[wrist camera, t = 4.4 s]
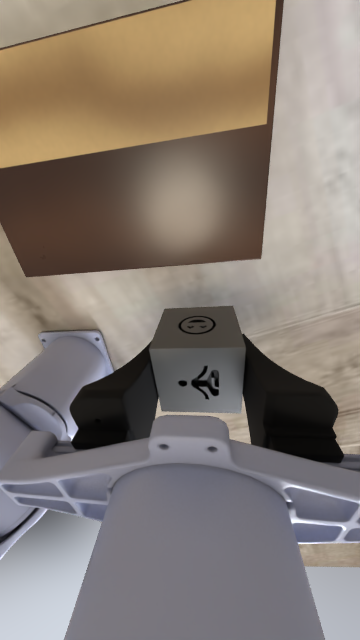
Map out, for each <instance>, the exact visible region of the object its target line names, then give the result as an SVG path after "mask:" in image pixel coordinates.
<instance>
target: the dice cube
mask: <svg viewBox="0 0 360 640" xmlns="http://www.w3.org/2000/svg"><path fill="white" fill-rule="evenodd" d="M149 352H150V356H151V361H152V366H153V371H154V376H155V381H156V386H157V390H158V395H159V400H160V405H161V410H162V411H171V412H209V413H241V408H242V394H243V380H244V366H245V352H246V346H245V343H244V340H243V337H242V333H241V330H240V327H239V324H238V320H237V317H236V314H235V311H234V308H233V306H218V307H195V308H172V309H164V312H163V314H162V317H161V320H160V322H159V325H158V327H157V330H156V332H155V335H154V337H153V340H152V342H151V345H150V348H149Z"/></svg>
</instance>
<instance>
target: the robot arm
mask: <svg viewBox="0 0 360 640" xmlns="http://www.w3.org/2000/svg"><path fill="white" fill-rule="evenodd" d="M38 337H39V339H40V341H41V343H42V345H43V347H44V350H43V351H42V352H41V353H40V354H39V355H38V356H36V357H35V358H34V359H33V360H32V361H31V362H30V363H28V364H27V365H26V366H25V367H24V368H23V369H22V370H20V371H19V372H18V373H17V374H16V375H15V376H14V377H12V378H11V379H10V380H9V381H8V382H7V383H6V384H4V385H3V386H2V387H1V388H0V560H1V558H2V557H3V556H4V555H5V553H6V552H7V551H8V550H9V549H10V548H11V546H12V545H13V544H14V543H15V542H16V541H17V540H18V539H19V538H20V537H21V536H22V535H23V534H24V533H25V532H26V531H27V530H28V529H29V528H31V527H32V526H33V525H34V524H35V523H36V522H37V521H38V520H39V519H40V518H41V517H42V516H43V515H44V513H45V512H46V511H47V510H48V509H49V510H53V511H58V512H63V513H67V514H71V515H75V516H80V517H84V518H88V519H92V520H97V521H101V522H102V524H101V528H100V530H99V533H98V536H97V540H96V543H95V546H94V549H93V552H92V555H91V558H90V561H89V564H88V568H87V570H86V573H85V577H84V580H83V583H82V586H81V589H80V592H79V595H78V598H77V601H76V604H75V608H74V611H73V614H72V617H71V620H70V623H69V626H68V629H67V632H66V635H65V638H64V640H325V638H324V634H323V630H322V627H321V623H320V620H319V616H318V613H317V609H316V606H315V602H314V599H313V596H312V592H311V588H310V585H309V582H308V578H307V574H306V571H305V567H304V564H303V560H302V557H301V553H300V550H299V546H298V544H315V543H360V455H357V454H343V452H342V451H341V449H340V447H339V445H338V444H337V442H336V440H335V439H336V434H335V432H334V430H333V429H332V427H333V425H334V423H335V420H336V418H337V415H338V407H337V405H336V404H335V402H334V401H333V399H332V398H331V396H330V395H329V394H328V392H327V391H326V390H325V389H324V388H323V387H321V386H318V385H316V384H313V383H311V382H308V381H306V380H304V379H302V378H300V377H297V376H296V375H294V374H292V373H290V372H288V371H287V370H285V369H283V368H282V367H280V366H278V365H277V364H276V363H274V362H273V361H271V360H270V359H269V358H267V357H266V356H265V355H264V354H263V353H262V352H261V351H260V350H259V349H257V348H256V347H255V346H254V345H253V343H252V342H251V341H250V340H249V339H248V338H247V337H246V336H245V335H244V334H242V337H243V340H244V343H245V346H246V352H245V366H244V380H243V397H244V401H245V407H246V413H247V419H248V425H249V431H250V438H251V444H247V443H243V442H239V441H235V440H231V439H229V430H228V427H227V425H226V423H225V422H223V421H222V420H220V419H219V418H217V417H212V416H191V415H164V416H159V417H158V418H157V419H155V414H156V408H157V402H158V398H159V395H158V390H157V386H156V381H155V376H154V371H153V366H152V361H151V356H150V352H149V348H150V345H151V342H152V341H151V342H150V343H149V344H148V345H147V346H146V347H145V348H144V349H143V350H142V351H141V352H140V353H139V354H138V355H137V356H136V357H135V358H133V359H132V360H131V361H130V362H128V363H127V364H126V365H124V366H123V367H121V368H119V369H118V370H116V371H115V372H114V370H113V367H112V364H111V361H110V358H109V355H108V353H107V350H106V347H105V344H104V341H103V338H102V335H101V333H100V332H99V331H97V330H92V331H62V332H41V333H40V334H38ZM97 337H98V338H99V339H97ZM44 339H45V340H44Z"/></svg>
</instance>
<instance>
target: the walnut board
mask: <svg viewBox="0 0 360 640" xmlns="http://www.w3.org/2000/svg"><path fill="white" fill-rule="evenodd" d="M283 3H284V0H182V1H179V2H175V3H171V4H167V5H163V6H160V7H156V8H152V9H148V10H144V11H141V12H137V13H133V14H129V15H125V16H122V17H118V18H114V19H110V20H106V21H103V22H99V23H95V24H91V25H87V26H84V27H80V28H76V29H72V30H68V31H65V32H61V33H57V34H53V35H49V36H46V37H42V38H38V39H34V40H30V41H27V42H23V43H19V44H15V45H11V46H8V47H4V48H0V223H1V225H2V227H3V229H4V231H5V233H6V236H7V238H8V240H9V242H10V244H11V246H12V248H13V250H14V253H15V255H16V257H17V259H18V261H19V263H20V265H21V267H22V270H23V272H24V274H25V276H26V277H36V276H48V275H61V274H74V273H87V272H100V271H113V270H126V269H139V268H152V267H165V266H178V265H190V264H203V263H216V262H229V261H242V260H255V259H261V255H262V243H263V232H264V220H265V209H266V198H267V186H268V175H269V163H270V152H271V140H272V129H273V117H274V106H275V94H276V83H277V72H278V60H279V49H280V37H281V26H282V14H283Z"/></svg>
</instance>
